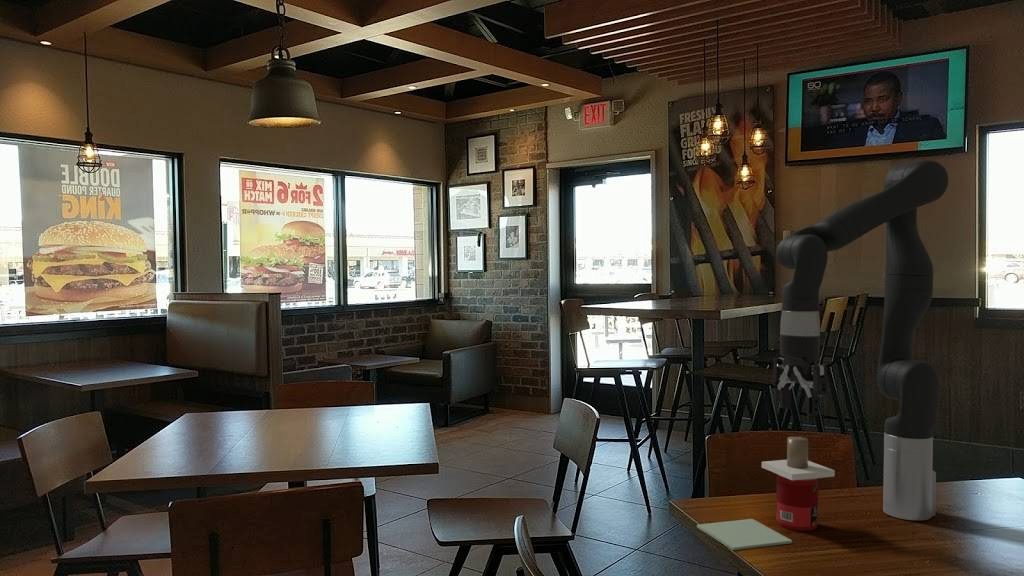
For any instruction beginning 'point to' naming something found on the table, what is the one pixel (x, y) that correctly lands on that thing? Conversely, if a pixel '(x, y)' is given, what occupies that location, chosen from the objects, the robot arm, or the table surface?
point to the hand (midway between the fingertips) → (798, 411)
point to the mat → (743, 534)
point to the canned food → (797, 503)
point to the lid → (797, 462)
